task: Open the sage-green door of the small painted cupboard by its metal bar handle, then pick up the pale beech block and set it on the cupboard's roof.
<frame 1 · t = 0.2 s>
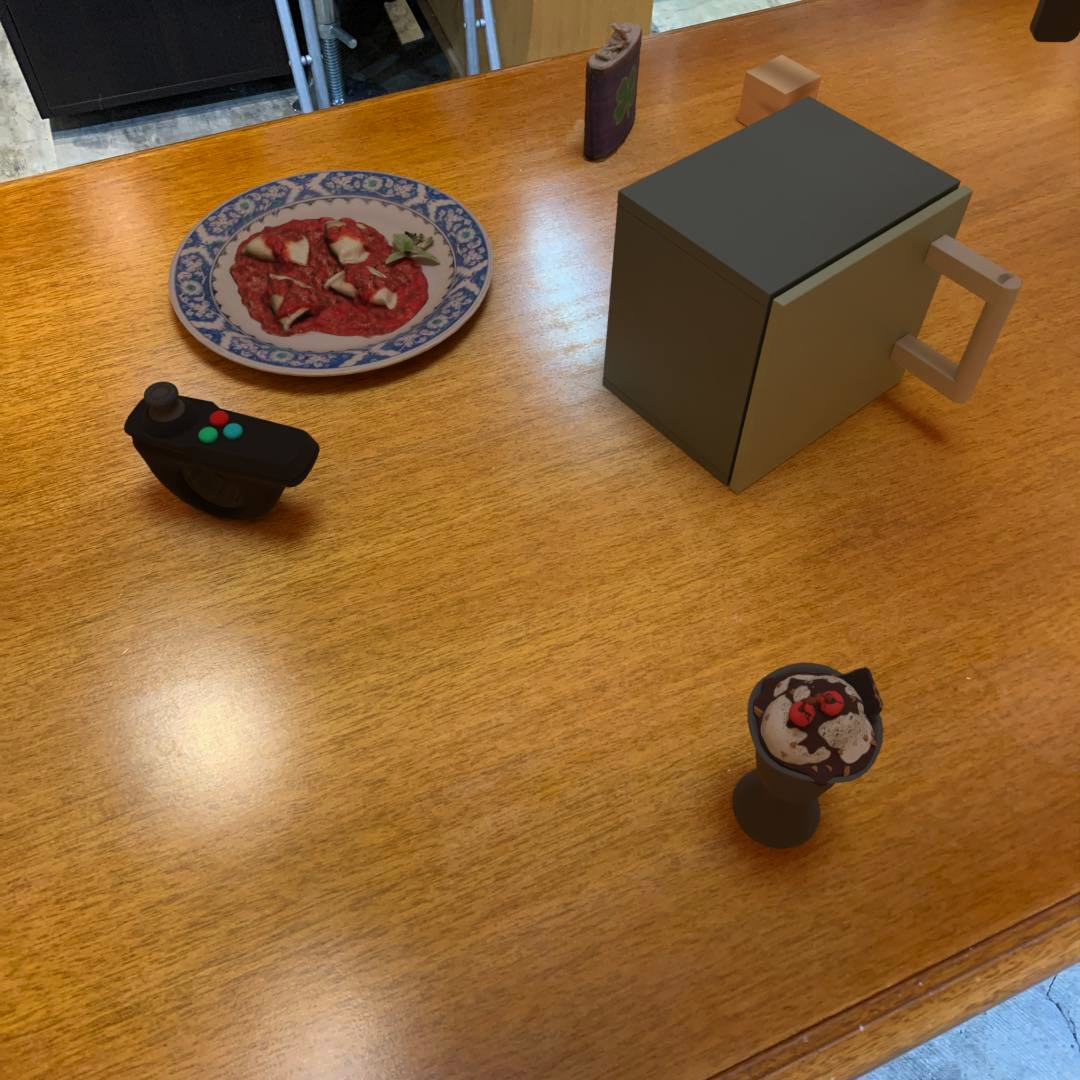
hand: (1077, 84, 50), 31 cm above the table, tool pointing down, fingers open, 8 cm apart
cupboard: (746, 380, 82), on the table
door: (883, 371, 71), point 8 cm above the table, hinge at 0.0°
sundae: (775, 809, 61), on the table
flask: (610, 139, 103), on the table
controller: (244, 510, 74), on the table
ceramic plate: (336, 286, 89), on the table
block: (773, 123, 104), on the table
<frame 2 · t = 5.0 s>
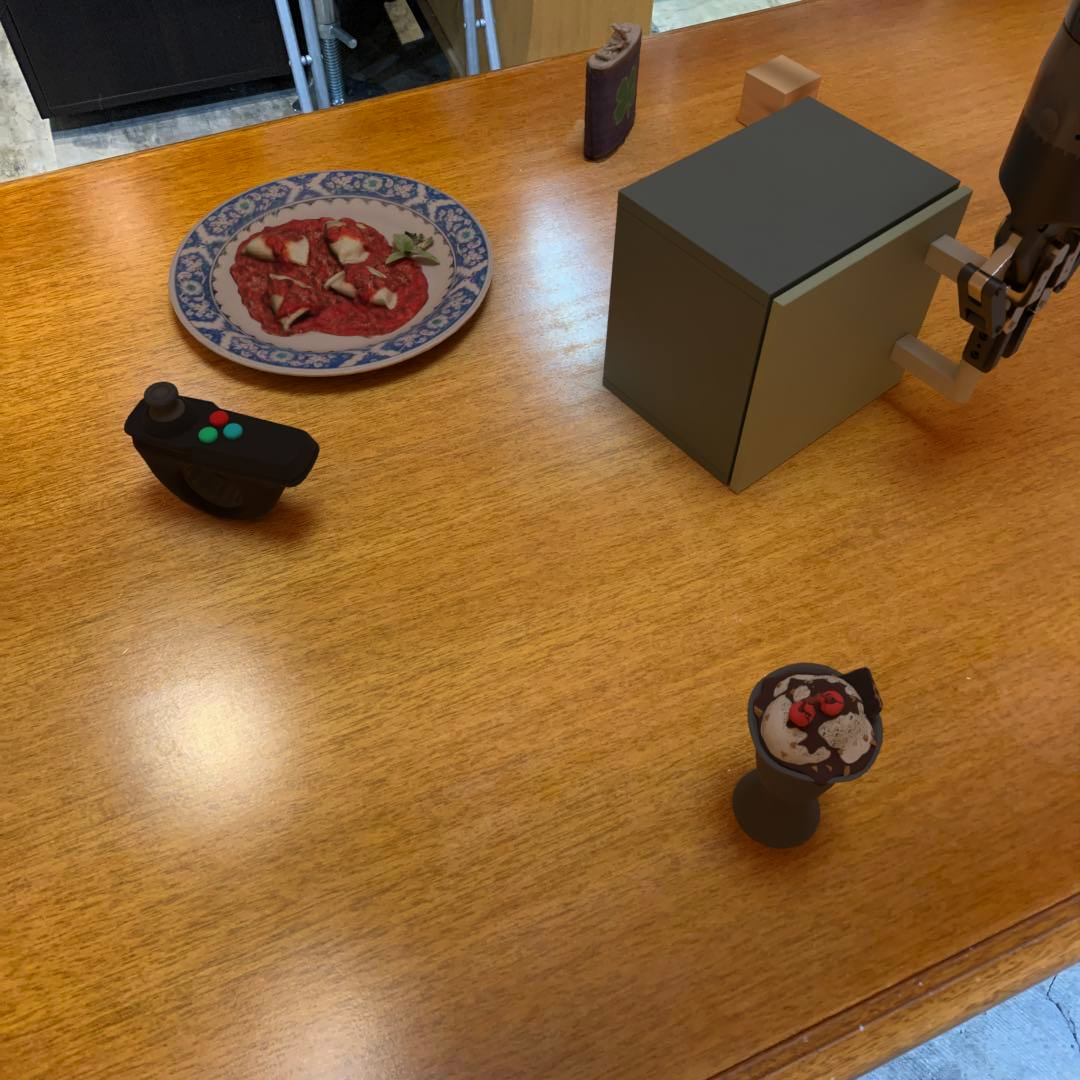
hand: (988, 356, 72), 9 cm above the table, tool pointing down, fingers closed on door
door: (883, 371, 71), point 8 cm above the table, hinge at 0.0°, touching gripper
everything else where it was.
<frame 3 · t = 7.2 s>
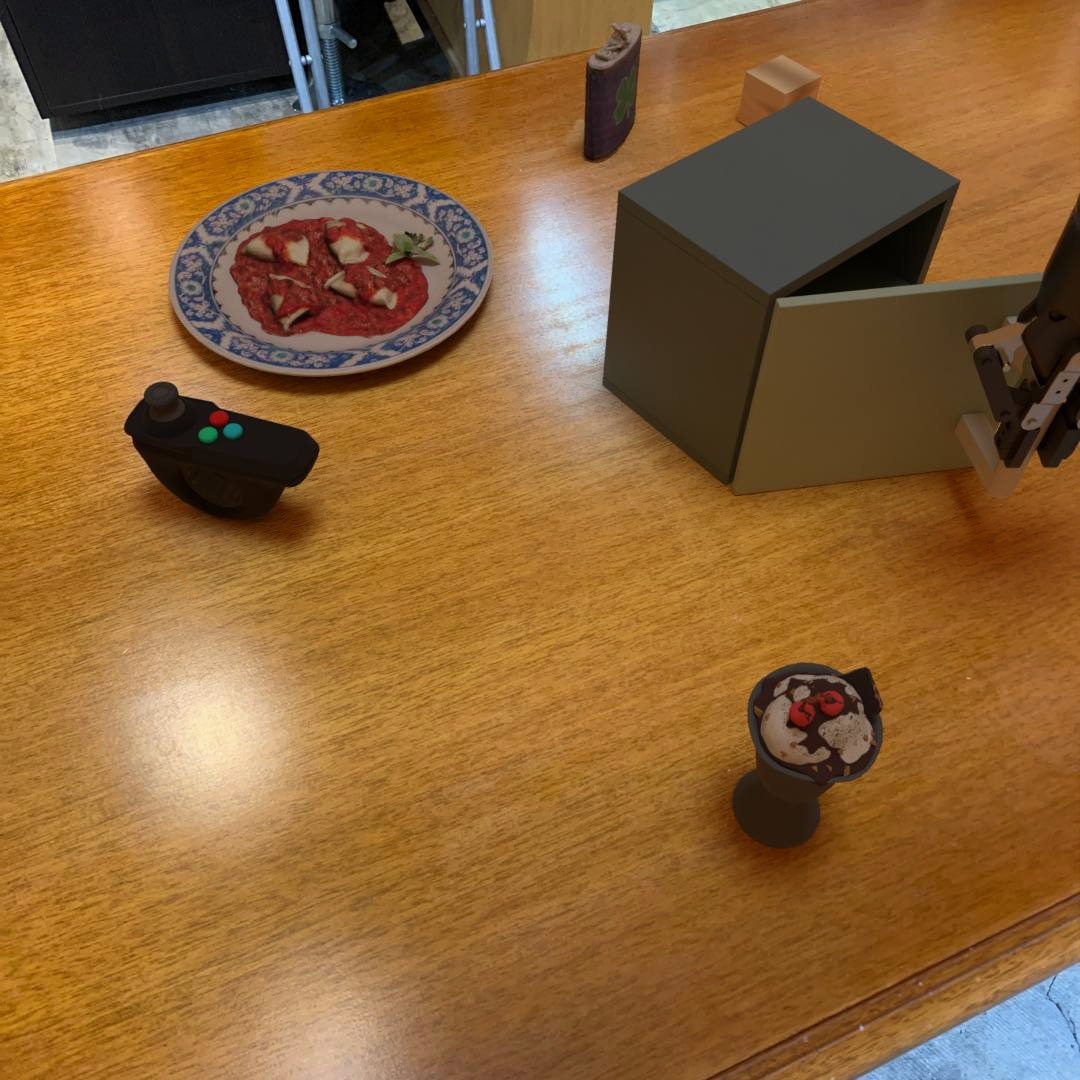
hand: (1027, 456, 66), 9 cm above the table, tool pointing down, fingers closed on door, 2 cm apart
door: (906, 426, 68), point 8 cm above the table, hinge at 30.4°, touching gripper
everything else where it was.
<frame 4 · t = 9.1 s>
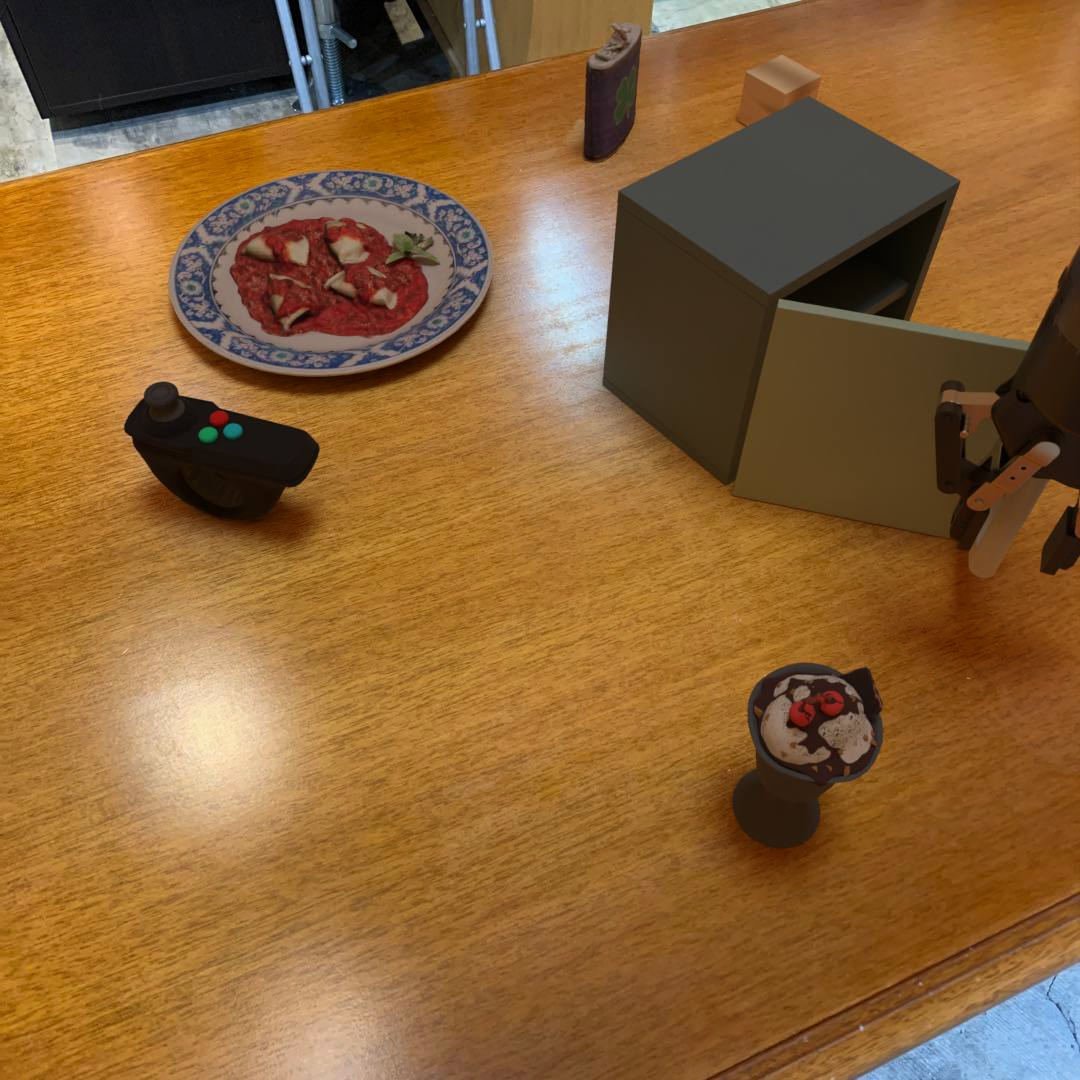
hand: (1005, 550, 62), 9 cm above the table, tool pointing down, fingers open, 4 cm apart
door: (894, 469, 66), point 8 cm above the table, hinge at 54.1°
everything else where it was.
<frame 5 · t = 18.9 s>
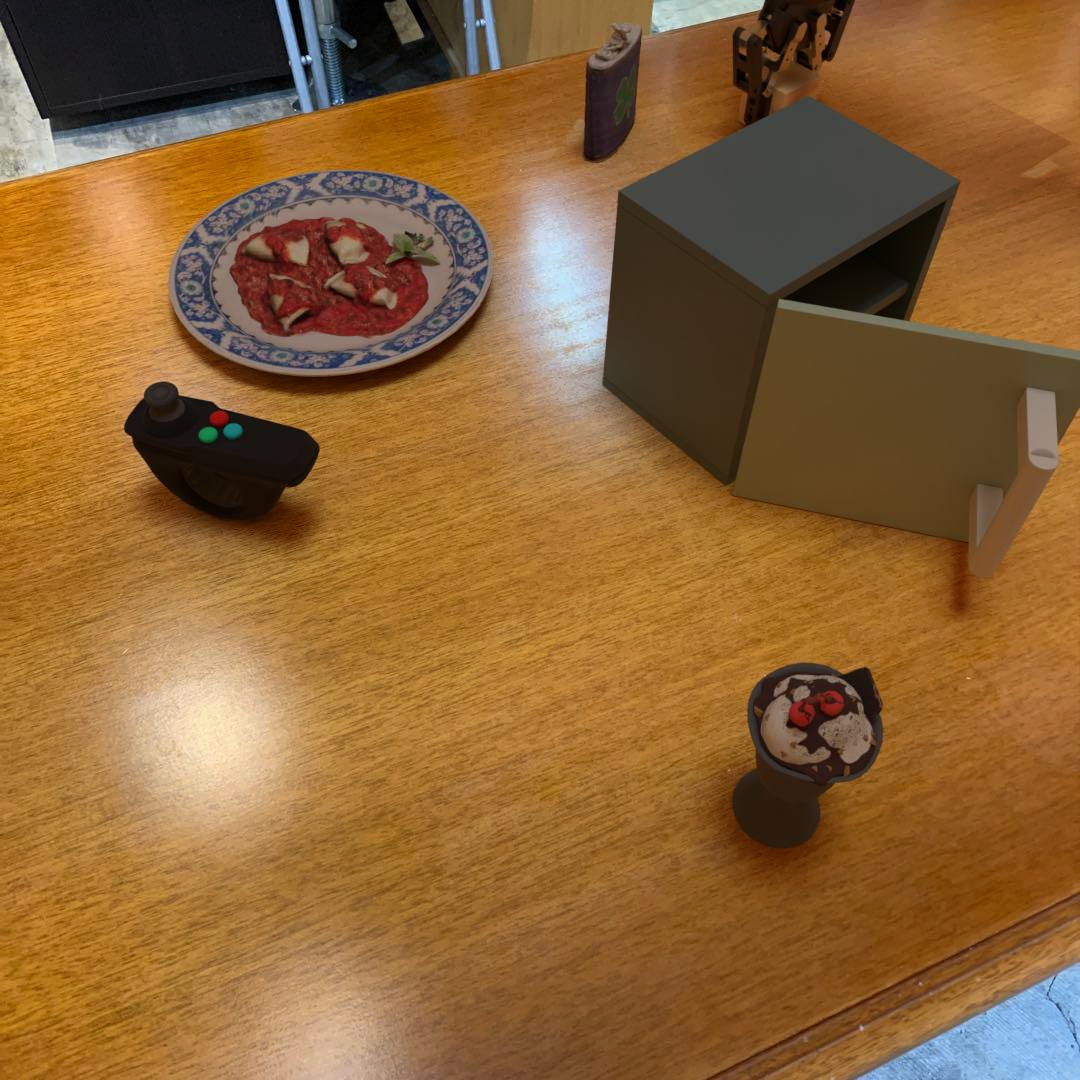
hand: (775, 116, 104), 1 cm above the table, tool pointing down, fingers closed on block, 5 cm apart
block: (773, 123, 104), on the table, touching gripper
everything else where it was.
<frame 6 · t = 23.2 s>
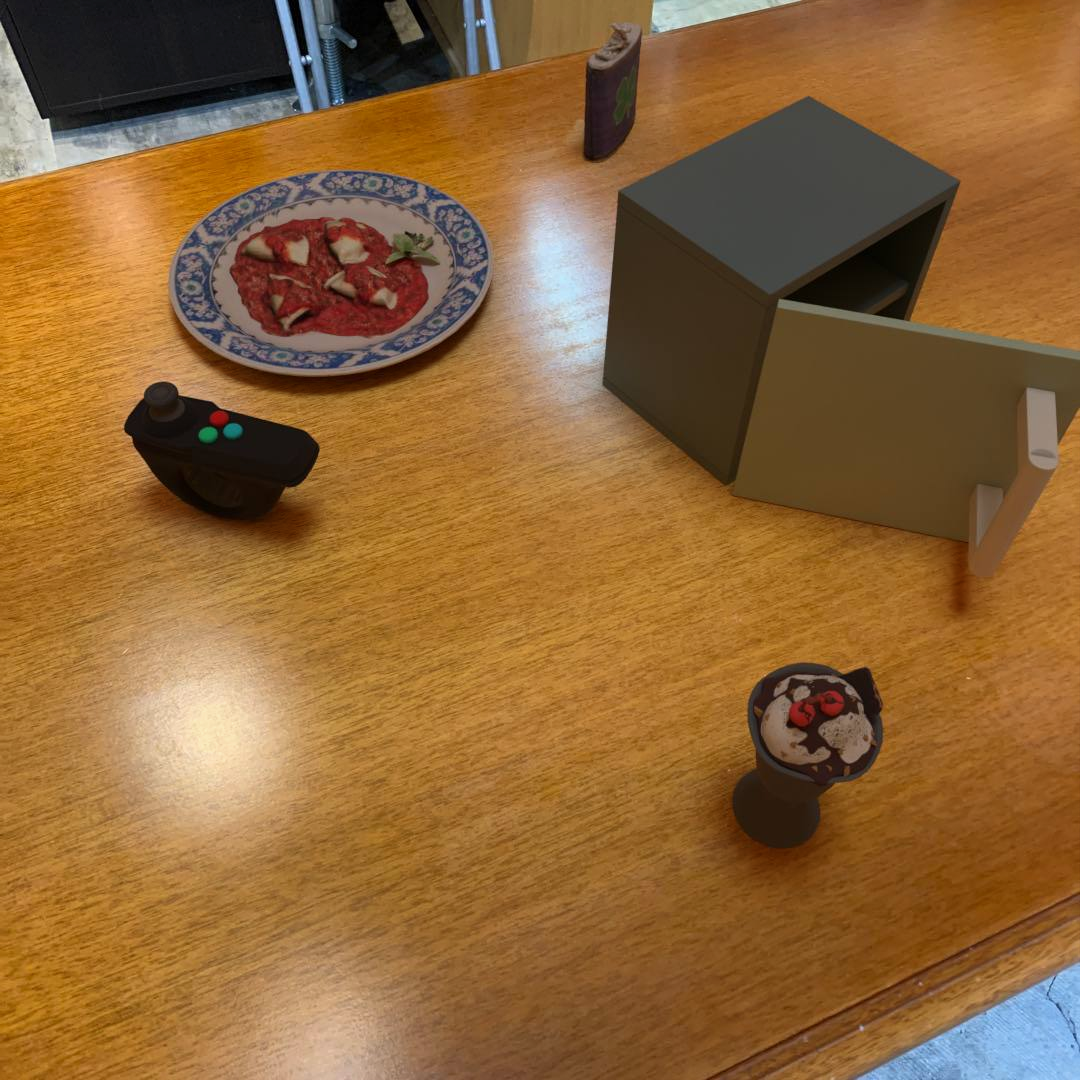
when the fingers open (18 cm above the table, at t = 27.8 s): block stays where it is, resting on cupboard.
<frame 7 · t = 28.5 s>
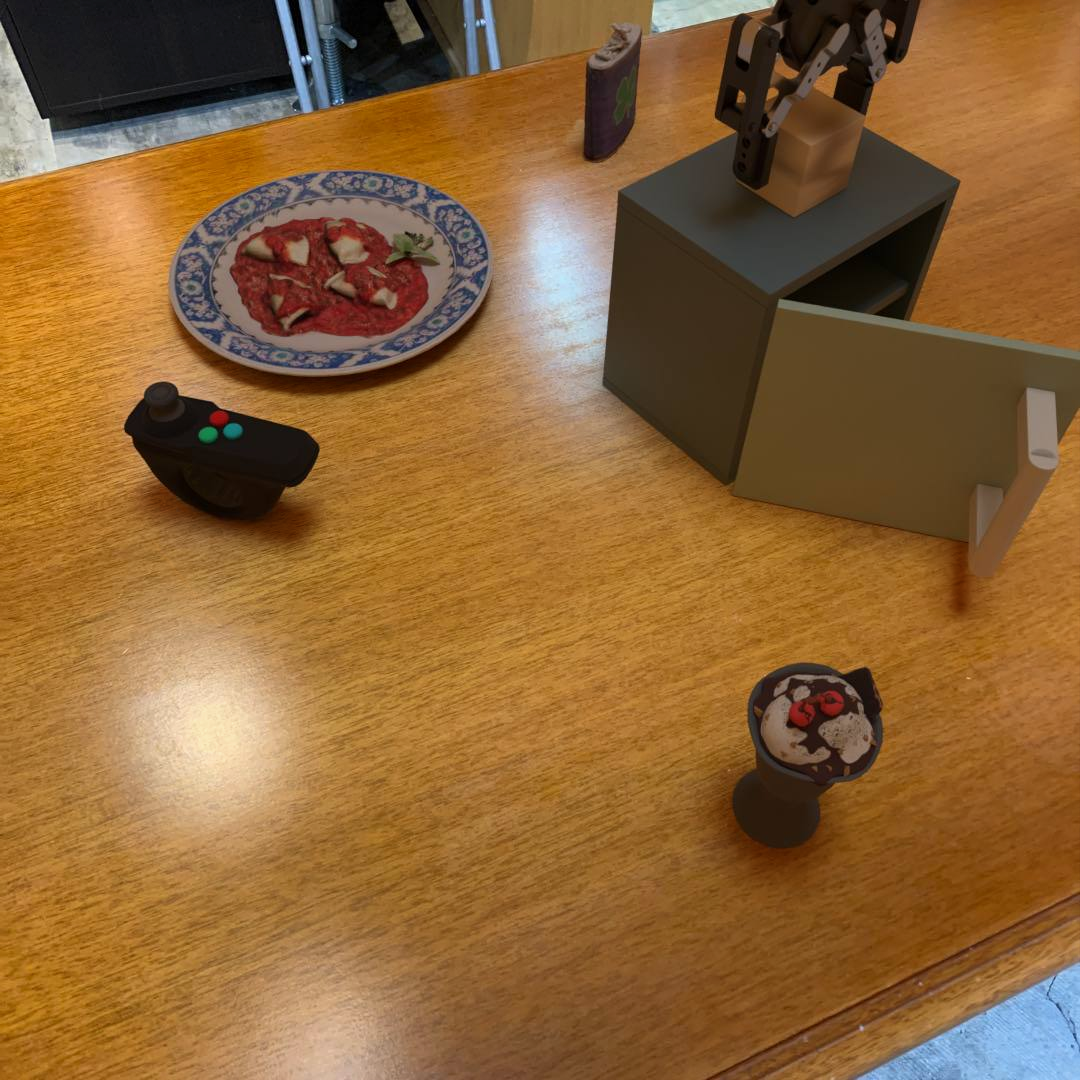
hand: (797, 157, 67), 19 cm above the table, tool pointing down, fingers open, 8 cm apart
block: (790, 185, 69), point 17 cm above the table, touching cupboard
everything else where it was.
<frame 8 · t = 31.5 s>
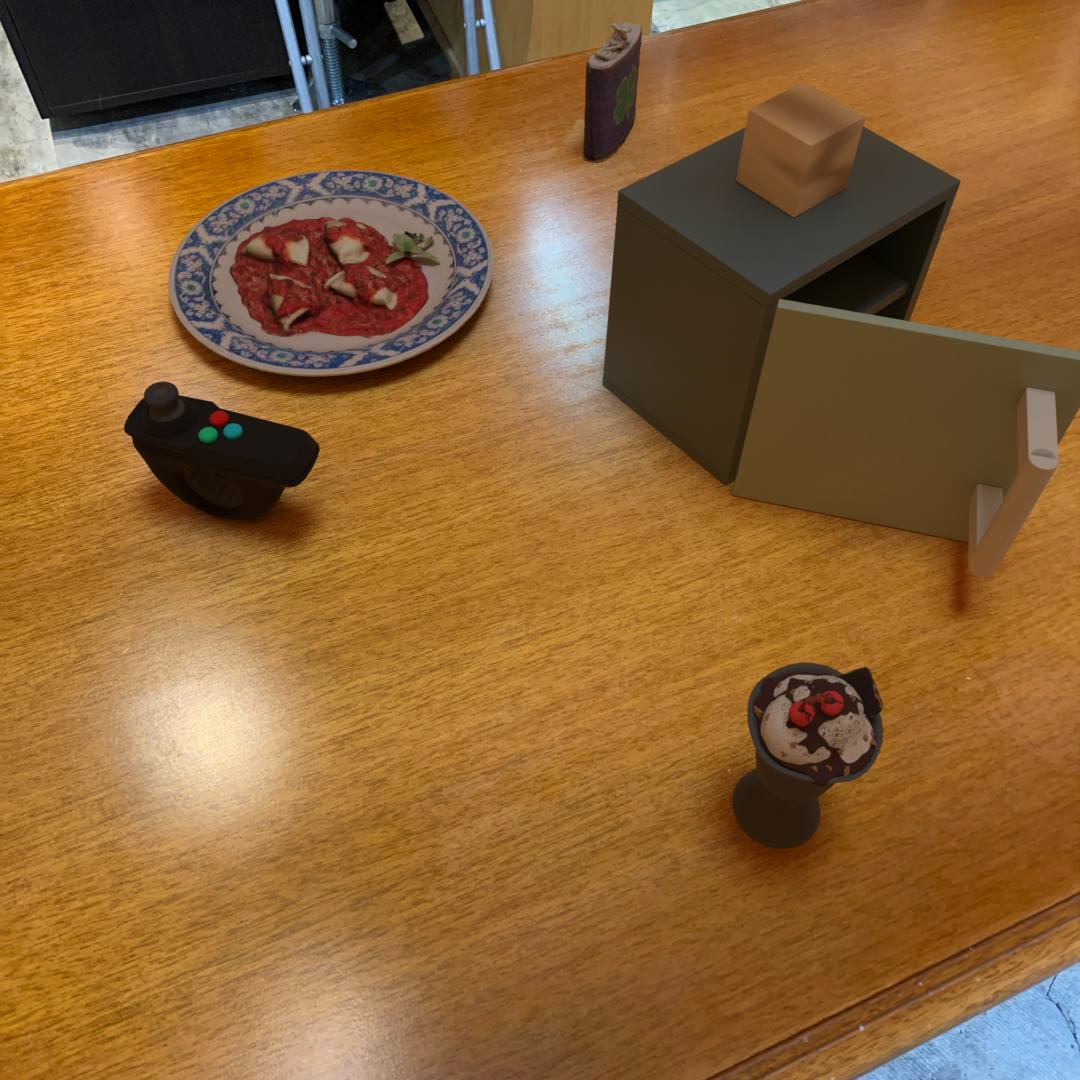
nothing on the table moved.
at the end: door at +54° (first picture: +0°); block inside the target area on the cupboard (0.0 cm from its centre), point 17.0 cm above the cupboard's base; block tilted 0° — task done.
